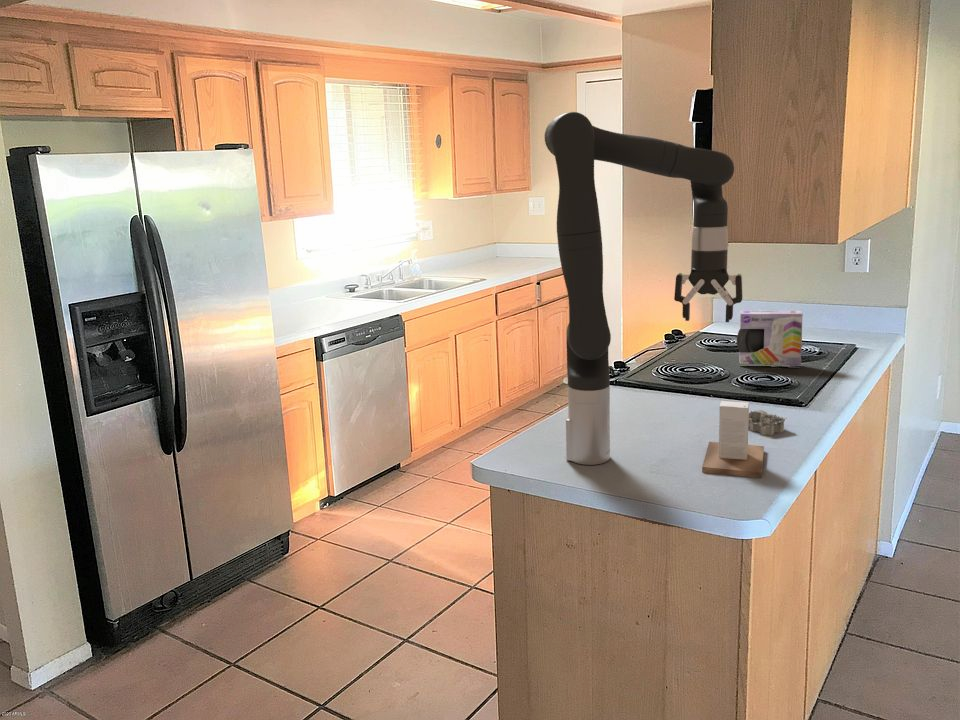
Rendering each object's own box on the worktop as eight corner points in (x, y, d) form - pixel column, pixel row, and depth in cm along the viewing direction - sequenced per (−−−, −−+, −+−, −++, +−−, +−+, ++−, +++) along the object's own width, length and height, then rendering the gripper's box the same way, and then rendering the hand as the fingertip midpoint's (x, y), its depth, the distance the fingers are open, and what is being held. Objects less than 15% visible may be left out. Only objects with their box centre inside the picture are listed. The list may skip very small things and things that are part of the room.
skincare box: (747, 453, 176) (750, 402, 173) (746, 460, 172) (749, 408, 169) (719, 451, 178) (720, 400, 175) (717, 458, 174) (719, 406, 172)
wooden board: (702, 472, 170) (702, 466, 170) (708, 446, 185) (709, 441, 185) (761, 477, 166) (761, 472, 166) (763, 451, 181) (764, 446, 180)
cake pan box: (735, 367, 251) (737, 312, 247) (735, 363, 256) (737, 308, 251) (801, 369, 245) (804, 313, 241) (799, 365, 250) (803, 309, 246)
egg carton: (733, 425, 199) (734, 410, 198) (756, 420, 202) (756, 405, 201) (766, 438, 190) (766, 421, 189) (789, 432, 193) (790, 416, 192)
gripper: (673, 249, 171) (672, 323, 175) (743, 249, 166) (740, 325, 170) (678, 245, 178) (676, 316, 182) (745, 245, 173) (742, 318, 177)
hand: (707, 320), depth 176 cm, fingers open, 8 cm apart
